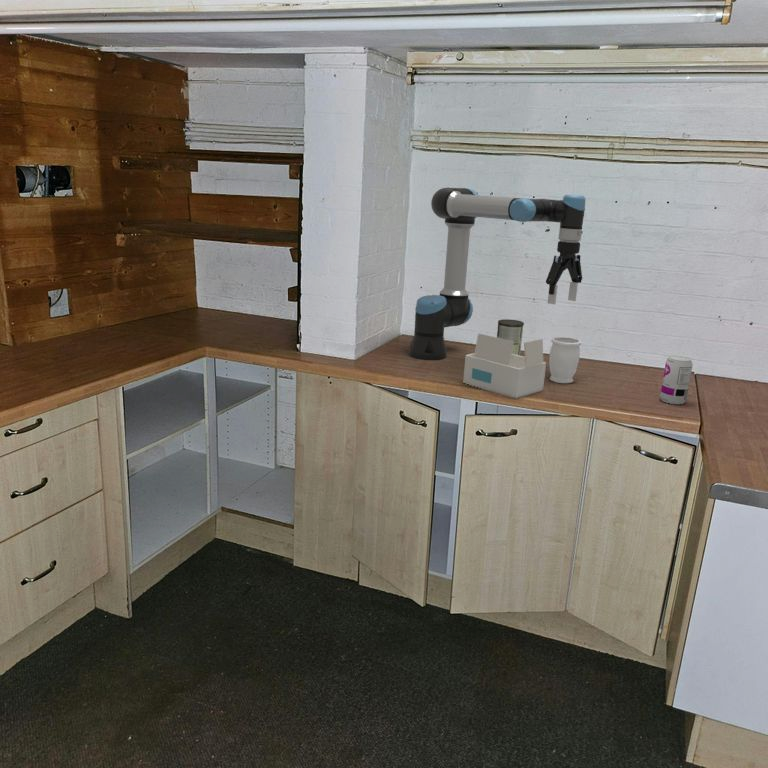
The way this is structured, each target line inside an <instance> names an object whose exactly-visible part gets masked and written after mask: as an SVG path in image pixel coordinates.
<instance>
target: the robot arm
mask: <svg viewBox="0 0 768 768" xmlns="http://www.w3.org/2000/svg"><path fill="white" fill-rule="evenodd" d="M430 203H431V204H430V205H431V209H432V211H433V214H435V215H436V217H438V218H439V219H440V218H441V219H443V220H444V224H445V226H447V240H446V241H447V243H446V255H445V256H446V257H445V265H444V267H445V268H444V282H443V288H442V289H441V290H440V291H439V295H438V294H432V295H429V294H427V295H423V296H420V297H419V298H418V299H417V300H416V304H415V314H414V315H415V317H414V331H413V332H414V335H413V337H412V340H411V343H410V346H409V348H408V356H410V357H413V358H415V359H419V360H428V361H429V360H433V361H435V360H437V361H438V360H444V359H446V358H447V355H448V352H447V348H446V343H445V336H444V335H445V328H450V327H458V326H461V325H464V324H466V323H467V322H468V321H470V319H471V317H472V315H473V311H474V310H473V309H474V306H473V303H472V301H471V299H470V298H469V293H468V291H467V290H466V285H467V283H466V282H467V270H468V259H469V258H468V256H469V250H470V249H469V247H470V235H471V228H472V227H474V226H475V221H476V218H486V219H495V220H506V221H507V220H508V221H516V222H520V223H526V222H548V223H549V222H550V223H559V231H558V242H557V247H556V250H557V253H559V255H554V256H553V260H552V264H551V266H550V269H549V272H548V275H547V277H546V278H545V283H546V284H547V285H549V287H548V295H547V304H550V305H556V302H557V294H558V287H559V286H558V285H557V284H558V282H559V280H560V279H561V276H562V274H563V273H564V271H566V270H568V271H567V272H568V274H569V277H570V279H571V281H570V282H569V289H568V290H569V291H568V297H567V300H568V301H570V302H571V301H572V302H576V300H577V293H578V286H579V284H581V283H582V281H583V273H582V265H581V264H582V263H581V254H579V253H580V248H581V243H580V241H581V240H582V239H581V238H582V235H583V224H584V217H585V211H586V197H585V196H584V195H578V194H577V195H576V194H564V195H563V198H562V199H560V200H559V199H548V198H528V197H527V198H525V197H521V198H520V197H510V196H509V197H508V196H507V197H506V196H496V195H495V196H494V195H492V196H491V195H479V194H478V192H477V191H475V190H474V189H472V188H471V189H470V188H466V187H441V188H440V189H438V190H437V191H435V193H434V194H433V195H432V198H431V200H430Z"/></svg>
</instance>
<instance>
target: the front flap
mask: <svg viewBox="0 0 768 768" xmlns="http://www.w3.org/2000/svg"><path fill="white" fill-rule="evenodd" d="M513 344H514V341H510V340H505V339H501V338H497V336H491V335H489V334H482V333H479V332H478V333H477V338H476V344H475V349H474V352H473V353H474V357H477V358H481V359H484V360H488V361H492V362H496V363H500V364H504V365H508V366H509V363H510V359H511V354H512V349H513Z"/></svg>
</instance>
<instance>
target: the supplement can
mask: <svg viewBox="0 0 768 768" xmlns="http://www.w3.org/2000/svg"><path fill="white" fill-rule="evenodd" d="M693 366H694V365H693V362H692V358H690V357H688V356H681V355H669V356H668V357H667V359H666V360H665V365H664V372H663V376H662V383H661V387H660V388H661V389H660V394H659V399H660V400H661V401H662V402H663V403H665V402H666V404H668V403H670V404H669V405H674V404H677V405H678V404H679V405H680V404H681V405H684V403H685V404H686V402H687V398H688V392H689V388H690V382H691V381H690V380H691V376H692V370H693ZM677 405H676V406H677Z"/></svg>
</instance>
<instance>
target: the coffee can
mask: <svg viewBox="0 0 768 768" xmlns="http://www.w3.org/2000/svg"><path fill="white" fill-rule="evenodd" d="M524 325H525V322H524V321H521V320H517V319H508V318H505V319H504V318H503V319H499V320H497V331H496V333H497V334H496V337H497V338H501V339H505V340H510V341H514V344H513V349H512V354H516V355H520V356H521V351H522V350H521V349H522V343H523V342H522V339H523V333H524Z"/></svg>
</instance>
